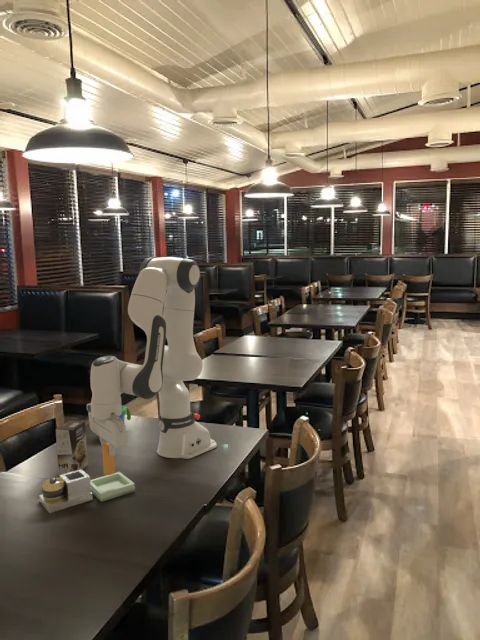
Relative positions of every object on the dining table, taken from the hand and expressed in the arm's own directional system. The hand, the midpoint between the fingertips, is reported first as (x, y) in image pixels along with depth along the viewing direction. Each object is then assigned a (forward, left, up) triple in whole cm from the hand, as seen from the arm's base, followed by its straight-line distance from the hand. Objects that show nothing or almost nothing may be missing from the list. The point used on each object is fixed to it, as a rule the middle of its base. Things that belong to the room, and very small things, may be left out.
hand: (108, 452), depth 165 cm
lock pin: (0, 0, -7) cm, 7 cm away
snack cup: (-22, -47, -13) cm, 54 cm away
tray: (0, 0, -12) cm, 12 cm away
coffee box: (+4, -22, -13) cm, 26 cm away
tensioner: (+13, -2, -12) cm, 18 cm away
